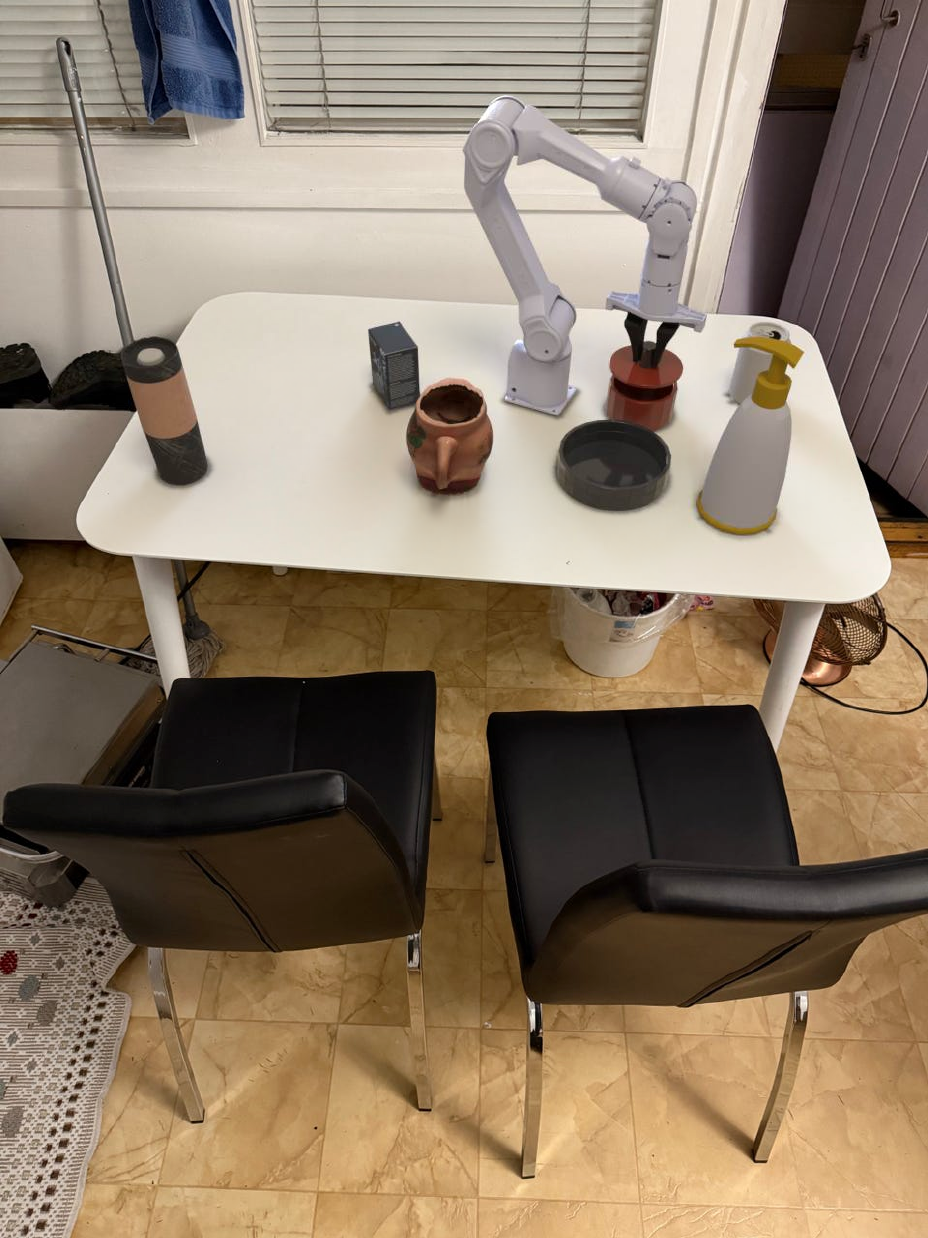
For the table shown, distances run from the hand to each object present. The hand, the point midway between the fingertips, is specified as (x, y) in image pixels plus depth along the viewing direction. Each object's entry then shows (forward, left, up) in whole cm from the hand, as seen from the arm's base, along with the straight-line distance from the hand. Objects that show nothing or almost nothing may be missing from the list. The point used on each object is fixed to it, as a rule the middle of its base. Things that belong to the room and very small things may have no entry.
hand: (646, 361), depth 139 cm
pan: (+2, -16, -10) cm, 19 cm away
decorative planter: (-19, -28, -10) cm, 36 cm away
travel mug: (-56, -43, -10) cm, 72 cm away
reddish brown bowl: (0, +1, -10) cm, 10 cm away
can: (+15, +13, -10) cm, 22 cm away
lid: (0, 0, -1) cm, 1 cm away
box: (-37, -12, -10) cm, 40 cm away
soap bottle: (+20, -15, -10) cm, 27 cm away
